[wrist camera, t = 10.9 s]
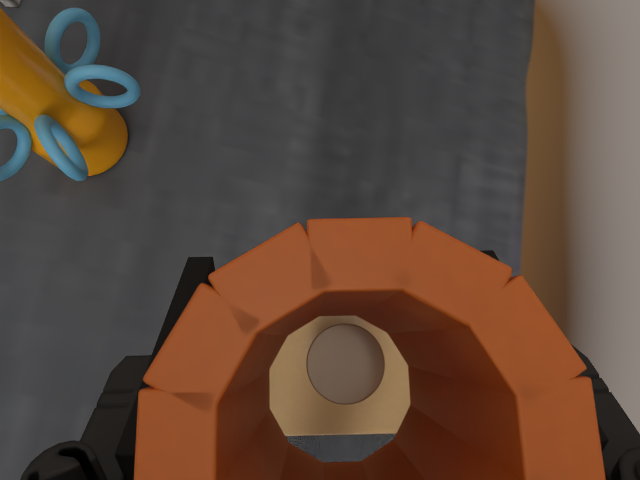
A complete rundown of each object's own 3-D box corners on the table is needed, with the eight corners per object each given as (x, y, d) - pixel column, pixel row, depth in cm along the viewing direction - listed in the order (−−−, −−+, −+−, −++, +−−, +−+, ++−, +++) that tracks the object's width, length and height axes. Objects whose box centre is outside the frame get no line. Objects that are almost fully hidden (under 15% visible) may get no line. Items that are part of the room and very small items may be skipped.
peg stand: (260, 433, 30) (219, 501, 17) (261, 282, 32) (225, 244, 20) (411, 429, 30) (479, 495, 18) (402, 279, 32) (457, 240, 20)
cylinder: (75, 47, 36) (-90, -152, 21) (190, 102, 35) (99, -67, 20) (-16, 179, 34) (-272, 55, 19) (104, 241, 33) (-68, 161, 18)
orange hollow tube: (230, 507, 16) (117, 736, 7) (233, 282, 18) (146, 221, 9) (455, 500, 16) (641, 714, 7) (437, 277, 18) (569, 212, 9)
